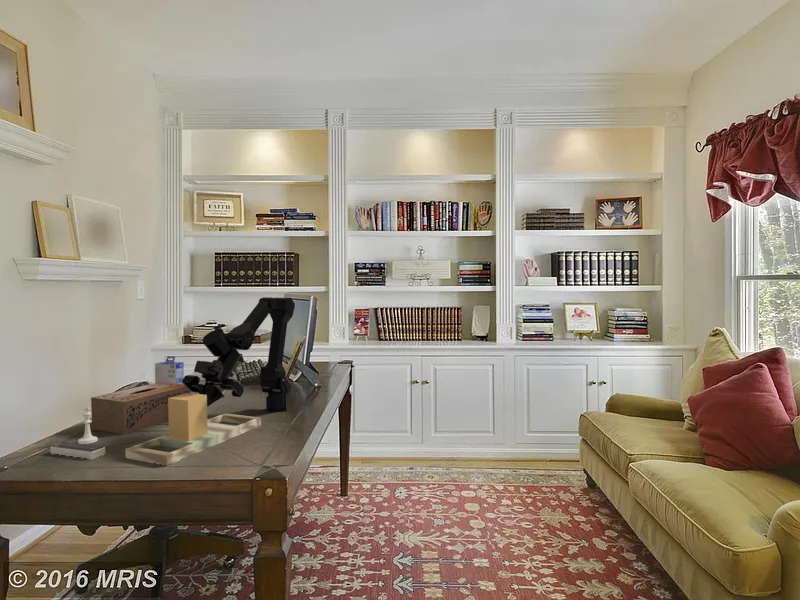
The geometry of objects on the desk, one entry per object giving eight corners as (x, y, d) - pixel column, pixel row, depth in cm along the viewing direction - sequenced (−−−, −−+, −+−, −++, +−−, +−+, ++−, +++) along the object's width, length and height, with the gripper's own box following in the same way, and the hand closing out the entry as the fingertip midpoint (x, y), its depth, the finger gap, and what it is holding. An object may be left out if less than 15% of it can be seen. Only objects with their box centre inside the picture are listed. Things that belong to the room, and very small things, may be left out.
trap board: (225, 421, 168) (225, 413, 167) (261, 425, 162) (260, 417, 162) (125, 458, 133) (125, 448, 133) (166, 465, 128) (166, 455, 128)
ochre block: (188, 431, 148) (187, 392, 148) (207, 433, 146) (206, 394, 145) (169, 438, 142) (168, 398, 141) (188, 441, 139) (187, 400, 139)
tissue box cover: (161, 409, 183) (160, 381, 183) (191, 414, 178) (191, 385, 177) (92, 429, 160) (91, 397, 159) (124, 435, 154) (123, 401, 154)
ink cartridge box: (185, 391, 211) (184, 356, 211) (176, 394, 206) (175, 358, 205) (163, 390, 213) (162, 355, 213) (154, 393, 208) (153, 357, 207)
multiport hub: (91, 461, 133) (91, 452, 133) (49, 455, 137) (49, 446, 137) (106, 455, 137) (105, 446, 137) (65, 450, 142) (65, 441, 141)
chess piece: (80, 439, 149) (79, 405, 149) (99, 438, 150) (99, 403, 150) (75, 444, 144) (74, 409, 144) (95, 443, 146) (94, 407, 145)
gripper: (185, 348, 155) (156, 392, 145) (236, 351, 148) (209, 398, 138) (205, 369, 162) (179, 413, 153) (254, 373, 155) (230, 419, 146)
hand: (198, 410), depth 147 cm, fingers closed
